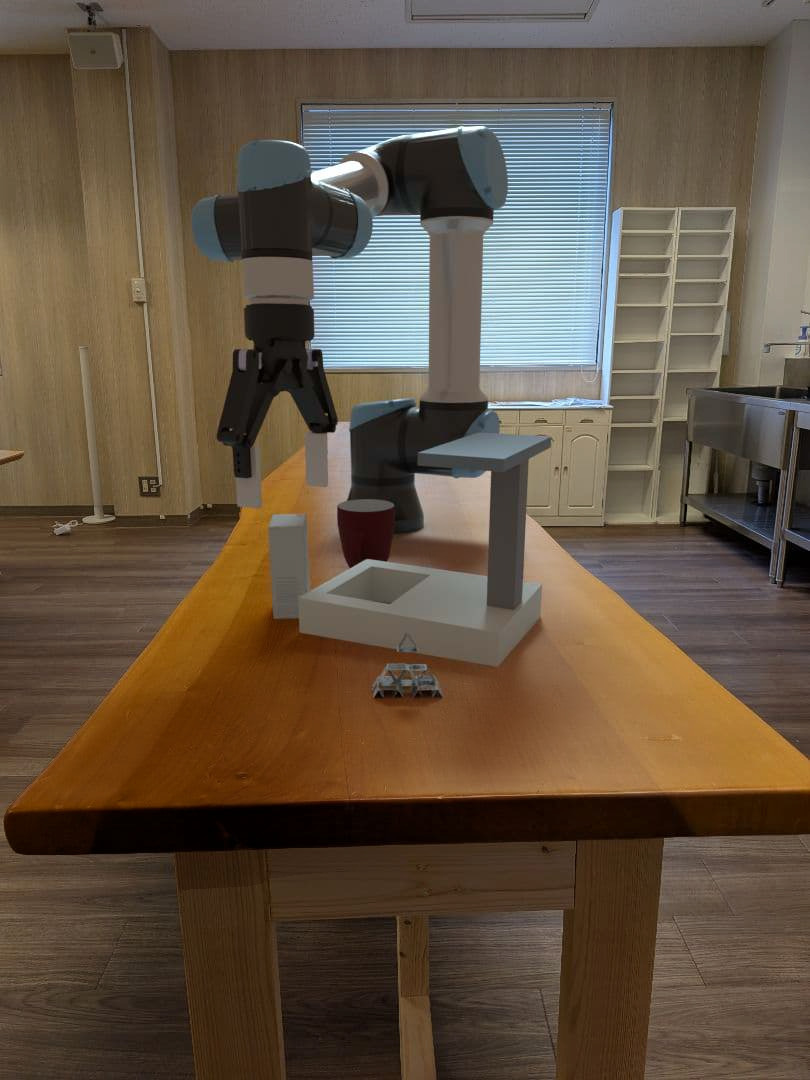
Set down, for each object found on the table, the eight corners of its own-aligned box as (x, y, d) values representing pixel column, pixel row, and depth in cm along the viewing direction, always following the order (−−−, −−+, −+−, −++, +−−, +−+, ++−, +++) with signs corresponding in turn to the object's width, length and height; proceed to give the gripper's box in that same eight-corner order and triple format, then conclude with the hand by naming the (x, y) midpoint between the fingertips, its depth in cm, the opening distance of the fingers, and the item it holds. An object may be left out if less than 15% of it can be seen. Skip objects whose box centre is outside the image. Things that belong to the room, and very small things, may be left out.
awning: (474, 572, 88) (478, 432, 84) (543, 582, 85) (551, 436, 80) (416, 620, 73) (417, 452, 69) (497, 634, 70) (503, 458, 65)
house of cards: (458, 677, 73) (459, 606, 71) (467, 722, 65) (470, 642, 62) (368, 679, 73) (367, 607, 71) (366, 723, 64) (365, 643, 62)
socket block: (367, 595, 95) (367, 559, 94) (540, 624, 86) (542, 584, 84) (299, 639, 81) (298, 597, 80) (497, 679, 72) (498, 632, 70)
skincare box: (276, 606, 91) (272, 513, 88) (311, 605, 92) (307, 513, 88) (272, 625, 85) (267, 526, 82) (308, 624, 86) (305, 525, 82)
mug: (391, 589, 97) (390, 516, 95) (331, 587, 98) (329, 515, 95) (397, 565, 108) (397, 499, 105) (343, 564, 108) (341, 498, 105)
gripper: (311, 309, 91) (315, 476, 97) (170, 296, 69) (186, 514, 75) (364, 308, 88) (365, 481, 94) (233, 295, 66) (245, 521, 72)
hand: (285, 496), depth 84 cm, fingers open, 13 cm apart
